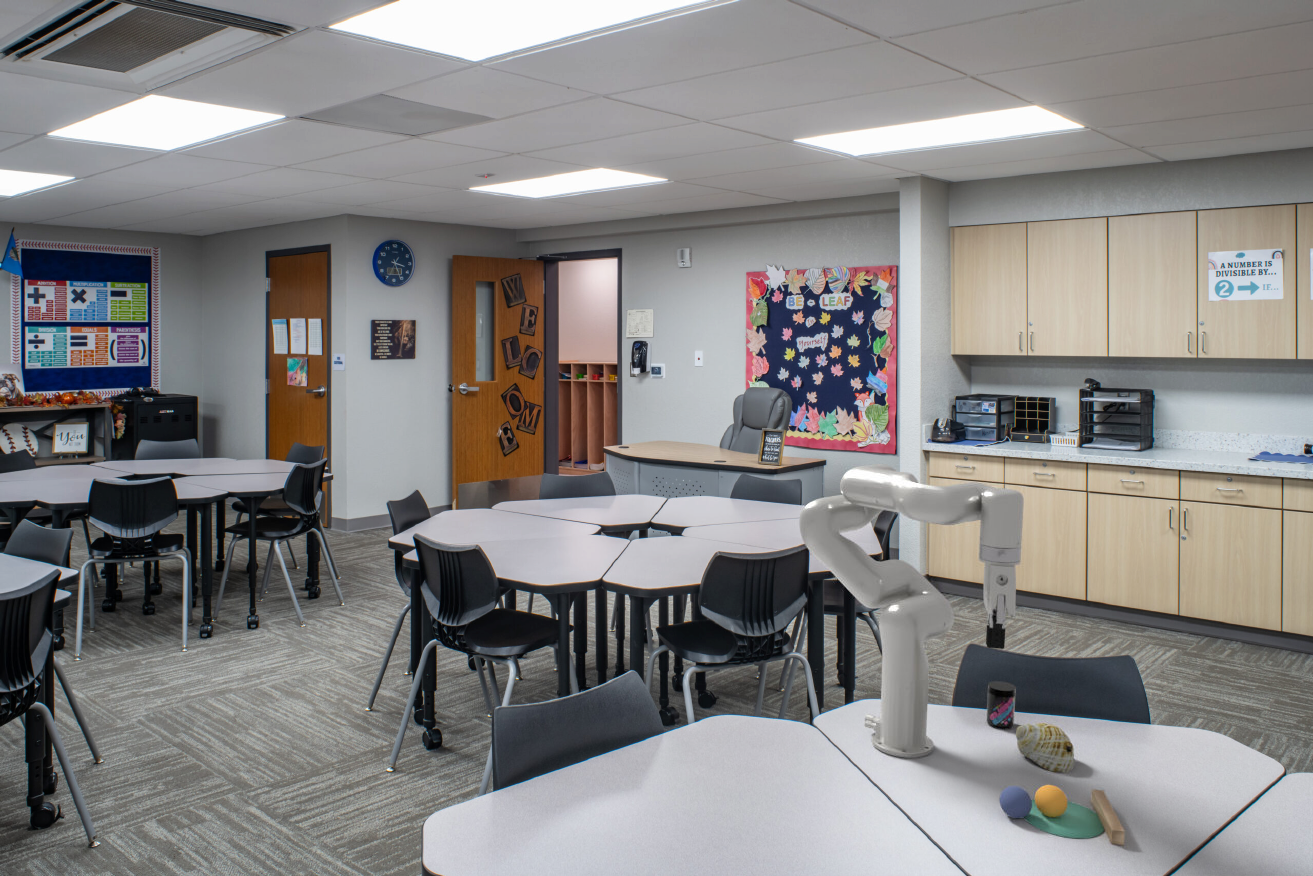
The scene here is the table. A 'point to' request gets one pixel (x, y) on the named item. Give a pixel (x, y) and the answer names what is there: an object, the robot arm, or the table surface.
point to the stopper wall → (1108, 817)
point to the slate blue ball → (1015, 802)
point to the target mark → (1067, 821)
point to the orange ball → (1051, 801)
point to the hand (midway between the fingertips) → (995, 646)
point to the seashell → (1046, 746)
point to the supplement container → (1001, 704)
